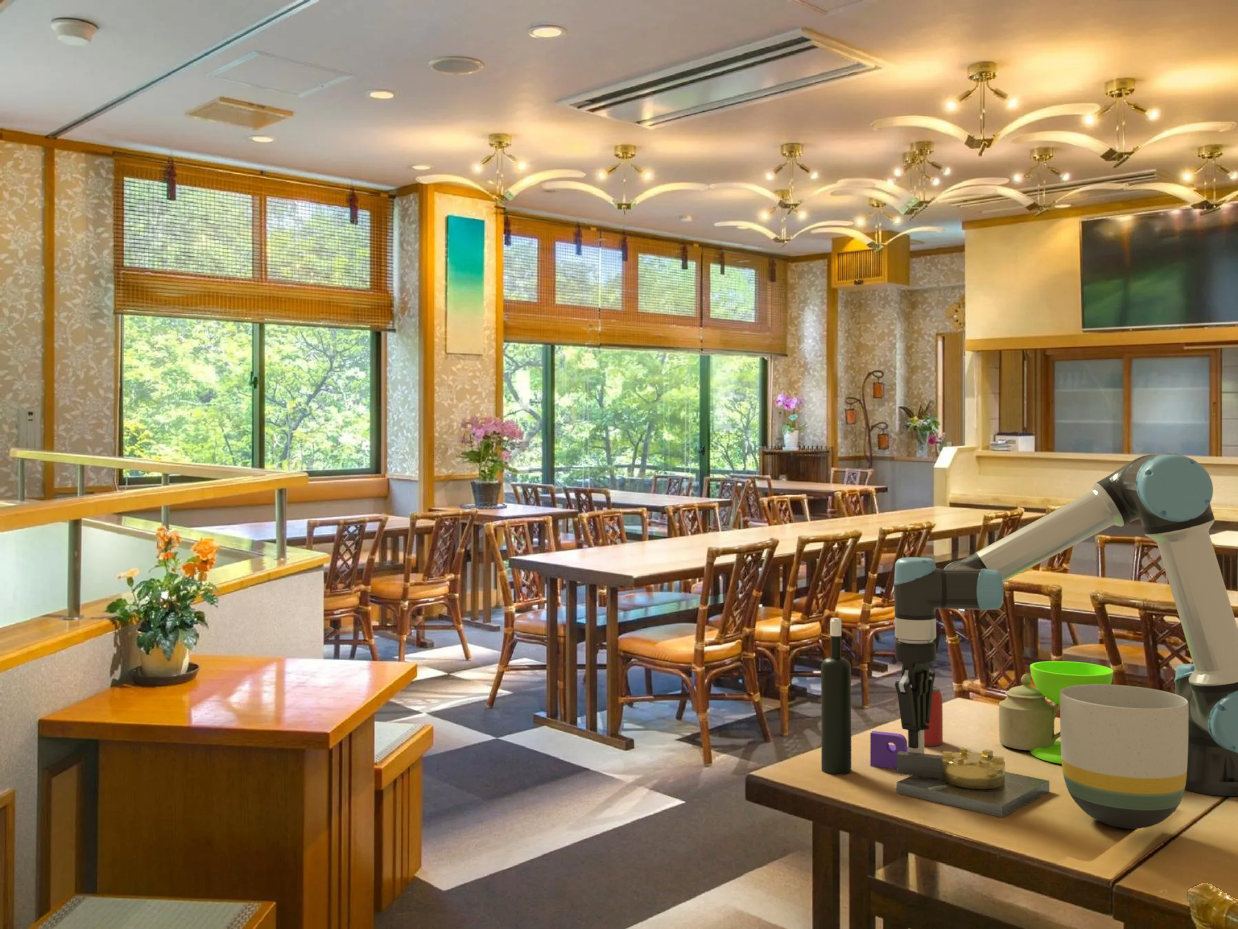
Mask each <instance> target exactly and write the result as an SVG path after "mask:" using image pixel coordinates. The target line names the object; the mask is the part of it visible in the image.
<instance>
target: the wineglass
mask: <svg viewBox="0 0 1238 929" xmlns="http://www.w3.org/2000/svg"><path fill="white" fill-rule="evenodd" d="M1029 670H1030V676H1031V677H1030V678H1032V681H1033V683H1034V685H1035V686H1034V687H1035V688H1037V689H1039V691H1040V692H1041V693H1042V694H1043V695H1044V696H1045V699H1047V700H1049V701H1050V702H1052V703H1056V704H1059V706H1060V691H1061V690H1062V689H1063V688H1066V687H1069V686H1075V685H1088V684H1108V685H1112V683H1113V677H1114V676H1113V675H1114V669H1113V668H1111V667H1108V666H1105V665H1100V664H1095V663H1089V662H1081V661H1080V662H1079V661H1068V660H1067V661H1066V660H1065V661H1064V660H1063V661H1061V660H1054V661H1053V660H1049V661H1048V660H1046V661H1038V662H1033V663H1031V664H1030V665H1029ZM1029 753H1030V754H1031V755H1032V756H1034V757H1035V758H1037V759H1041V760H1043V761H1047V762H1049V763H1055V764H1061V765H1062V758H1061V740H1056V741H1055V742H1054V745H1053V746H1051V747H1048V748H1035V749H1034V750H1029Z"/></svg>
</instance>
